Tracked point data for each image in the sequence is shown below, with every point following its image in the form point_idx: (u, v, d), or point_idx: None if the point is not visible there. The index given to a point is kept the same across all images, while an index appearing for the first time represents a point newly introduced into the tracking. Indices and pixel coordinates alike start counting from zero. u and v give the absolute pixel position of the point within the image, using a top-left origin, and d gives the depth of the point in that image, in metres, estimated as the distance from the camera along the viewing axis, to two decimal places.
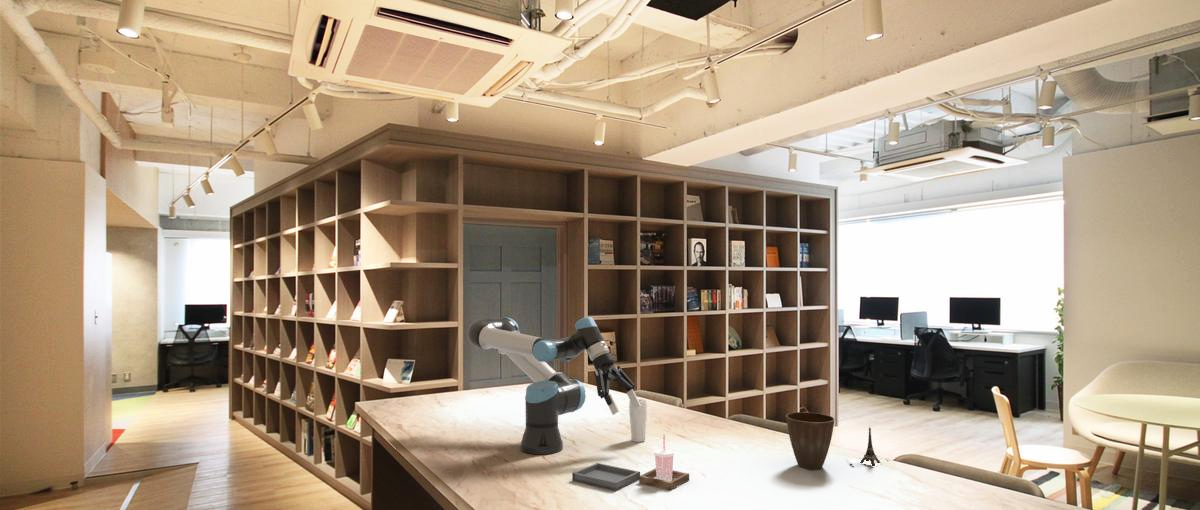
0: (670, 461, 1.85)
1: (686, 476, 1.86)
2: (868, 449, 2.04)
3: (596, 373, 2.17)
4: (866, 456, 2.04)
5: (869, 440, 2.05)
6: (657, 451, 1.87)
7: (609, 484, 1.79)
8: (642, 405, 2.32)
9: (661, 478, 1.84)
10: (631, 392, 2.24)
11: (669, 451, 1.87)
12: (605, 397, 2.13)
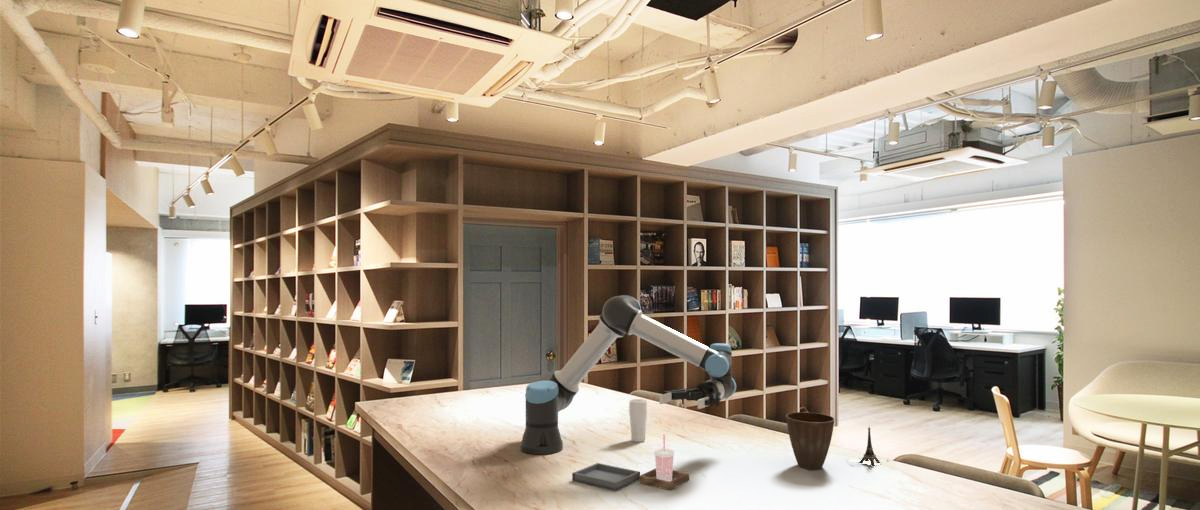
0: (670, 461, 1.85)
1: (686, 476, 1.86)
2: (867, 449, 2.05)
3: (720, 396, 2.03)
4: (865, 455, 2.05)
5: (868, 440, 2.05)
6: (657, 451, 1.87)
7: (609, 484, 1.79)
8: (642, 405, 2.32)
9: (661, 478, 1.84)
10: (670, 399, 2.03)
11: (669, 451, 1.87)
12: (711, 401, 1.95)
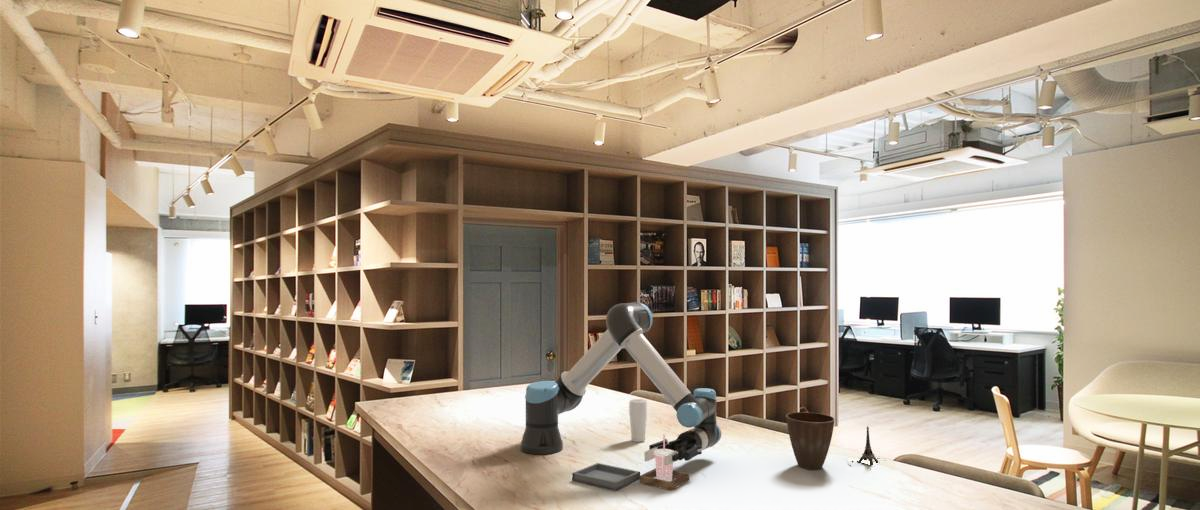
0: None
1: (686, 476, 1.86)
2: (866, 448, 2.05)
3: (699, 449, 1.91)
4: (864, 455, 2.05)
5: (867, 439, 2.06)
6: (657, 451, 1.87)
7: (609, 484, 1.79)
8: (642, 405, 2.32)
9: (661, 478, 1.84)
10: None
11: (669, 451, 1.87)
12: (680, 456, 1.85)
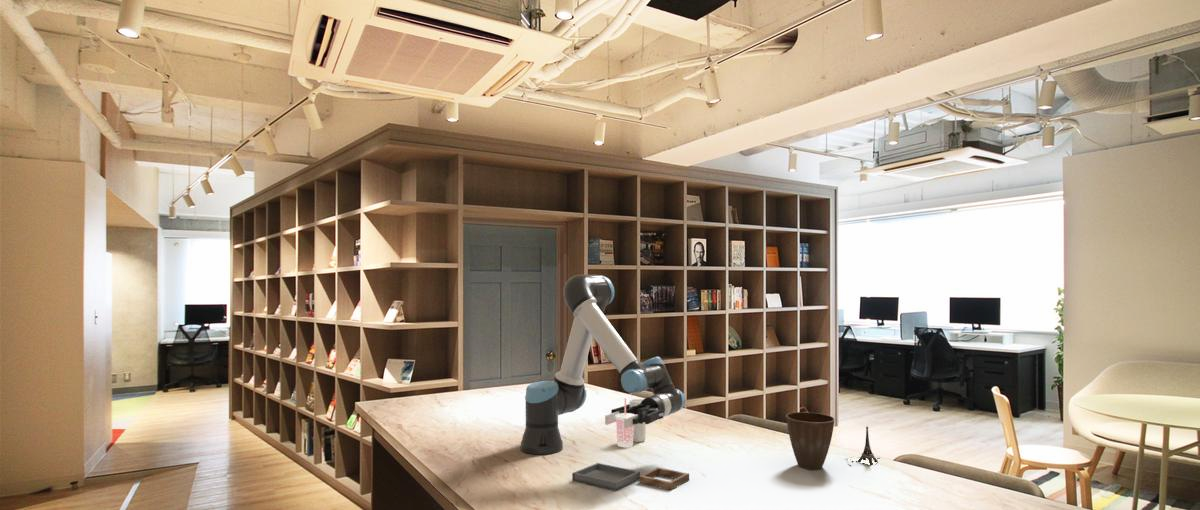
0: None
1: (686, 476, 1.86)
2: (865, 448, 2.06)
3: (661, 414, 1.92)
4: (863, 454, 2.06)
5: (866, 439, 2.06)
6: (618, 415, 1.88)
7: (609, 484, 1.79)
8: None
9: (622, 441, 1.85)
10: None
11: (630, 415, 1.88)
12: (640, 419, 1.85)
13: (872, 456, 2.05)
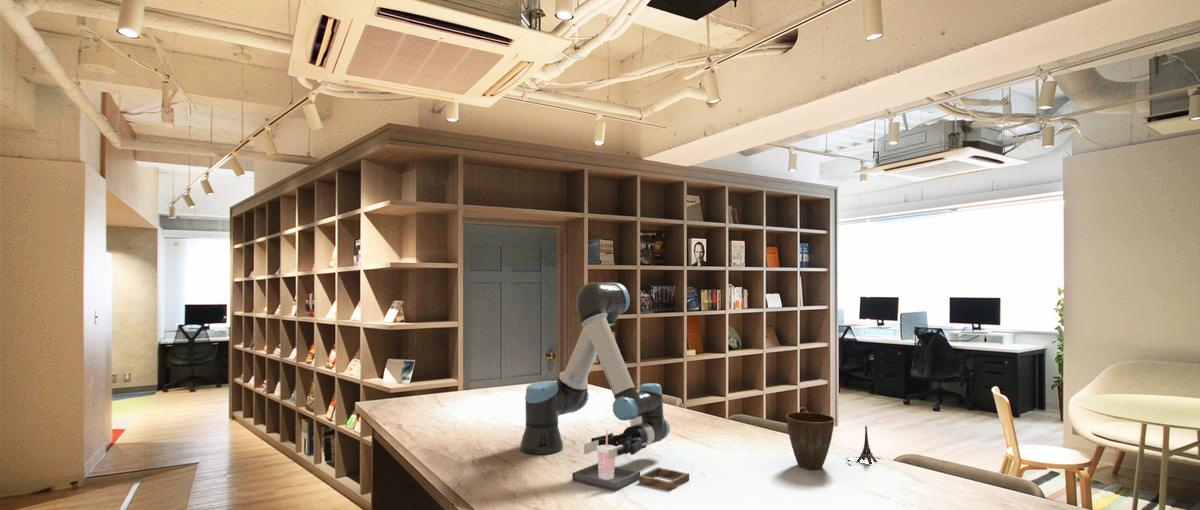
0: None
1: (686, 476, 1.86)
2: (865, 447, 2.06)
3: (644, 443, 1.93)
4: (862, 454, 2.06)
5: (865, 438, 2.07)
6: (600, 447, 1.89)
7: (609, 484, 1.79)
8: None
9: (602, 473, 1.86)
10: None
11: (612, 447, 1.89)
12: (625, 450, 1.86)
13: (871, 456, 2.06)
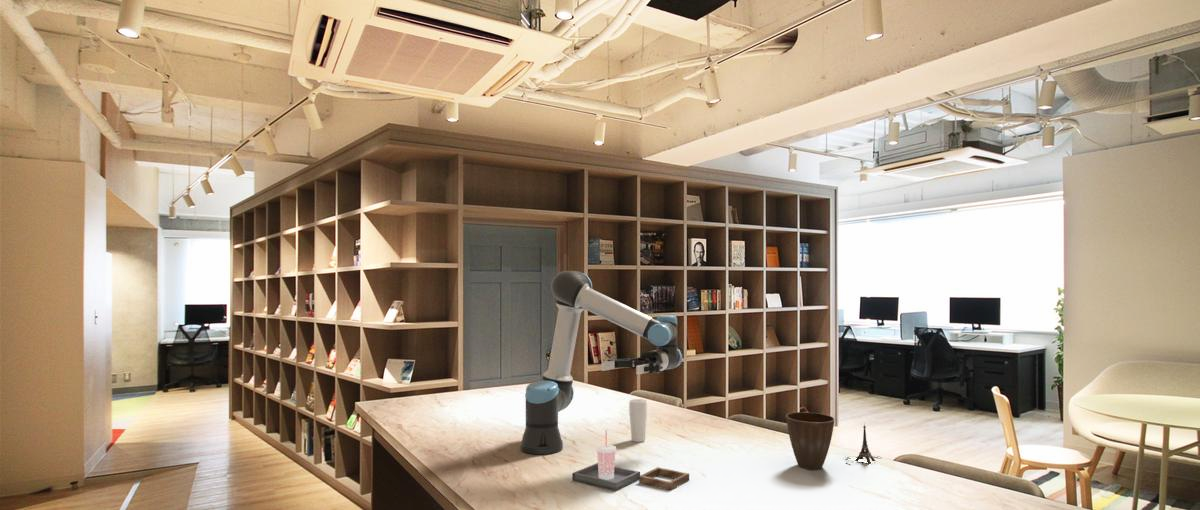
0: (611, 457, 1.86)
1: (686, 476, 1.86)
2: (863, 447, 2.07)
3: (661, 364, 2.09)
4: (861, 453, 2.07)
5: (864, 438, 2.07)
6: (599, 447, 1.89)
7: (609, 484, 1.79)
8: (642, 405, 2.32)
9: (602, 474, 1.86)
10: (613, 367, 2.09)
11: (611, 447, 1.89)
12: (651, 368, 2.01)
13: (869, 455, 2.07)
